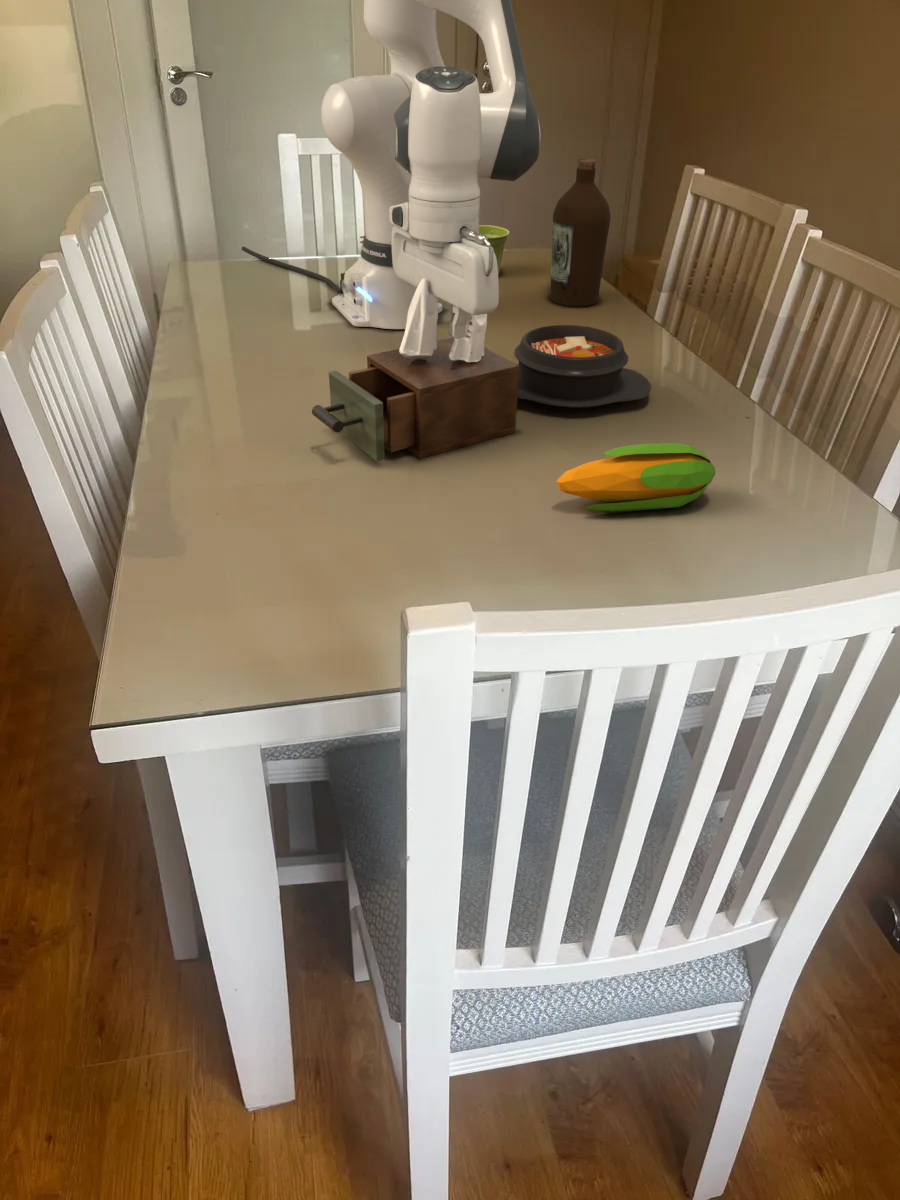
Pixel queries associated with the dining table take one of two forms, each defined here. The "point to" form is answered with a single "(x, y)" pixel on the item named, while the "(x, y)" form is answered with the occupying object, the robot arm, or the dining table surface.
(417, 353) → the shaker set
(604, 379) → the casserole
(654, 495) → the corn
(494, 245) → the plant pot
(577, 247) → the olive oil
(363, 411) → the drawer
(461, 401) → the cabinet
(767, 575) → the dining table surface
